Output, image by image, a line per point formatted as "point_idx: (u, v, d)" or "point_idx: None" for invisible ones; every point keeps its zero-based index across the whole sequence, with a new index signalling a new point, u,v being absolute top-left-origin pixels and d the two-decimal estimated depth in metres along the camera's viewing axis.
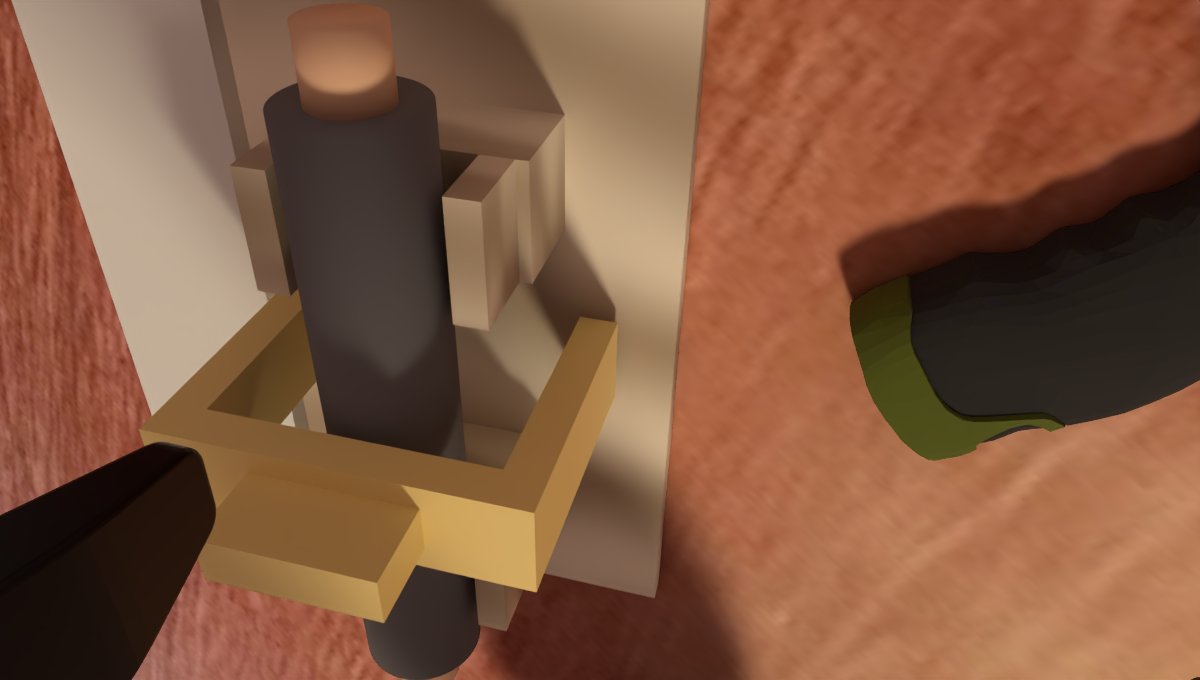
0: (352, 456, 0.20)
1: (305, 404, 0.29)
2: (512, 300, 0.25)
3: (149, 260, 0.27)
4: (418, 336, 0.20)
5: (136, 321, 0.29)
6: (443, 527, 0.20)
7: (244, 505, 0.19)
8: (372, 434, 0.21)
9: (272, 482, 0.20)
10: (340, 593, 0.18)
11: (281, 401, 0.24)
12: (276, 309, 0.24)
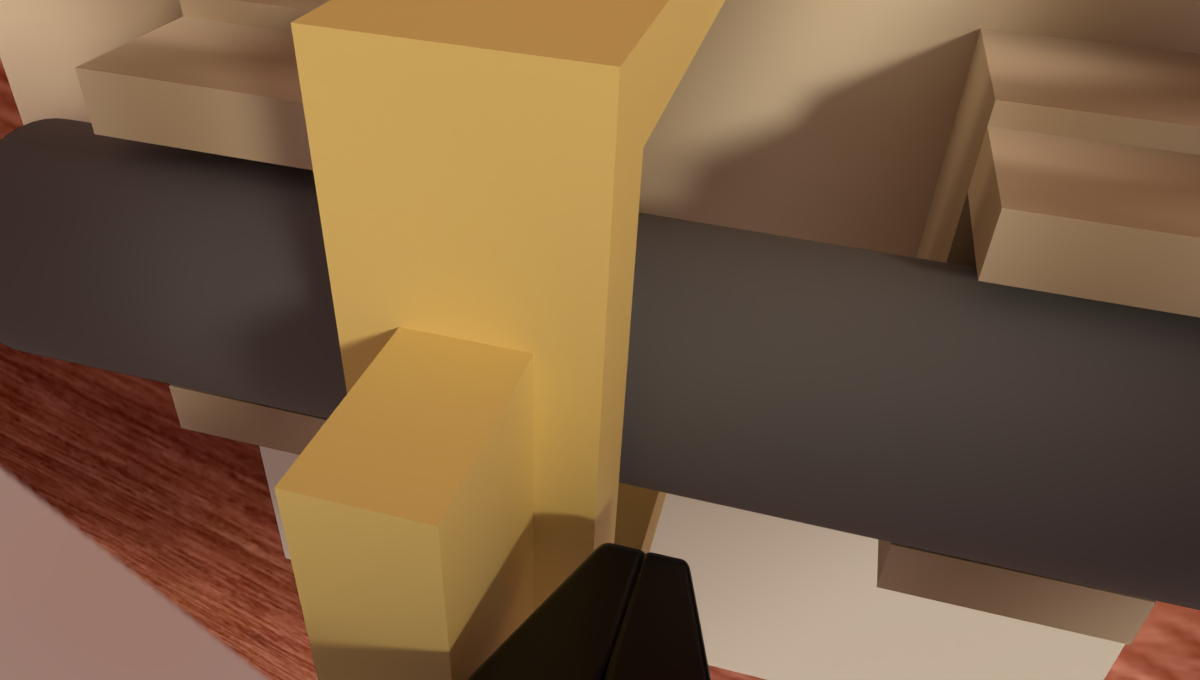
0: None
1: None
2: None
3: None
4: (319, 239, 0.10)
5: (731, 652, 0.21)
6: (439, 286, 0.08)
7: None
8: None
9: None
10: (367, 588, 0.07)
11: None
12: None
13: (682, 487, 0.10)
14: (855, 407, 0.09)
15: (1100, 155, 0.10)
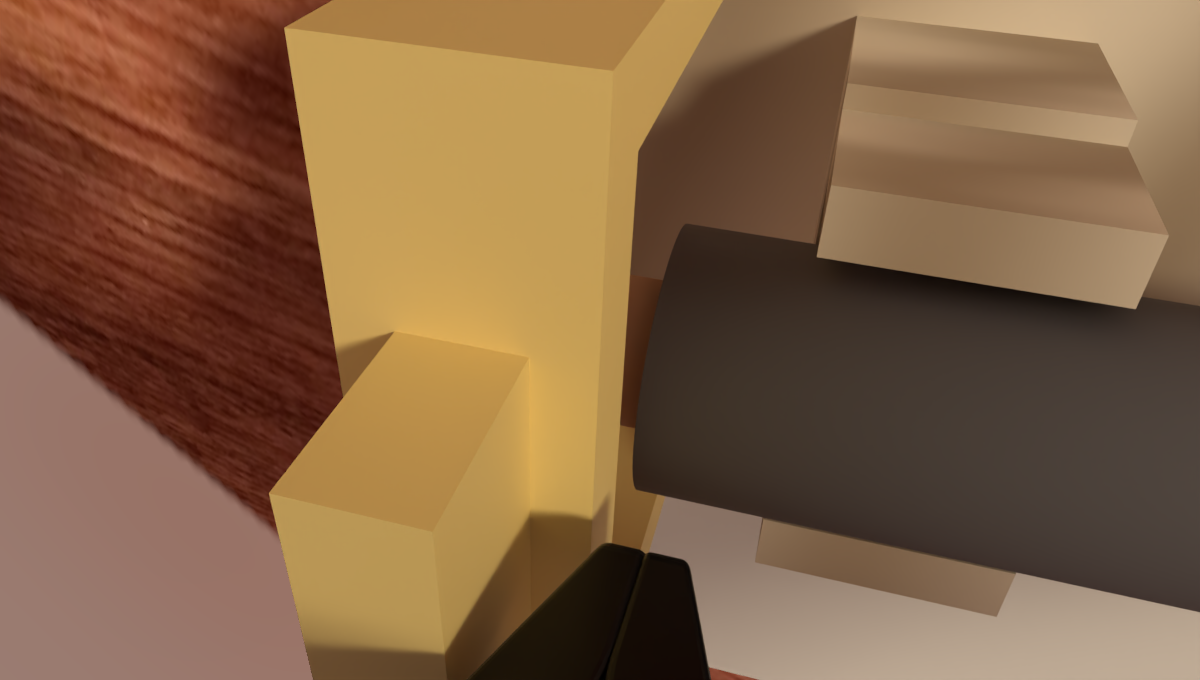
0: None
1: None
2: None
3: None
4: (1133, 389, 0.09)
5: None
6: (434, 291, 0.08)
7: None
8: None
9: None
10: (362, 593, 0.07)
11: None
12: None
13: None
14: None
15: None
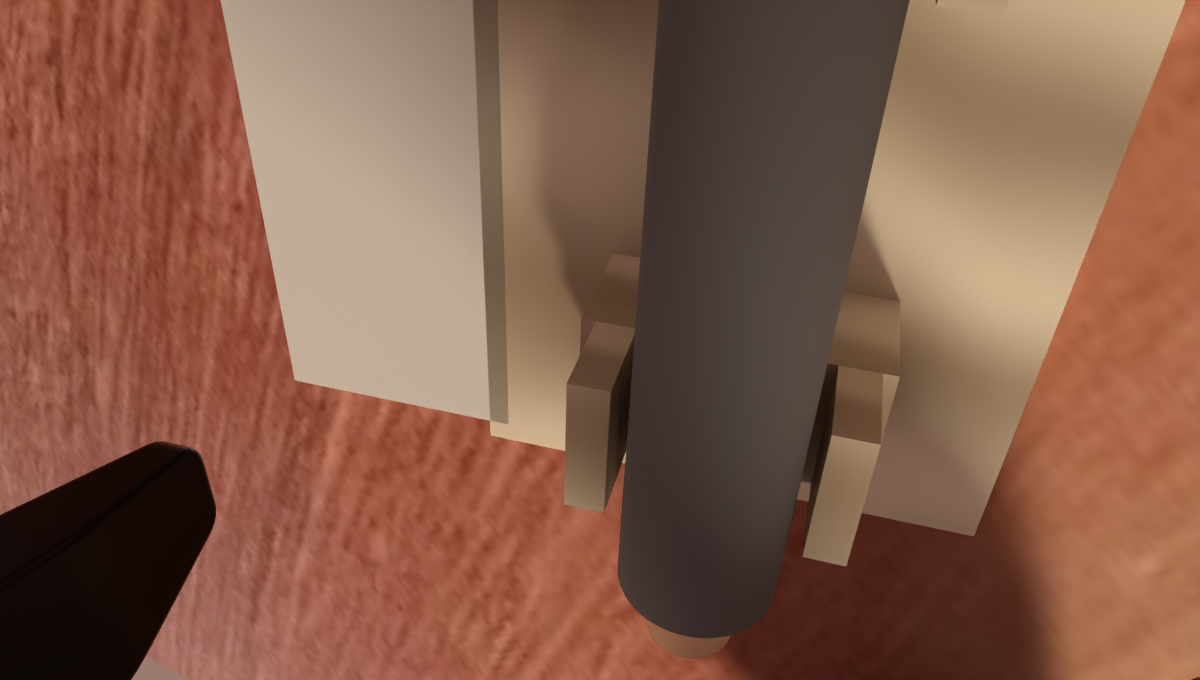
0: None
1: (506, 257, 0.21)
2: None
3: (304, 33, 0.19)
4: (885, 19, 0.11)
5: (271, 136, 0.21)
6: None
7: None
8: (766, 209, 0.12)
9: None
10: None
11: None
12: None
13: (681, 318, 0.14)
14: (769, 416, 0.14)
15: None
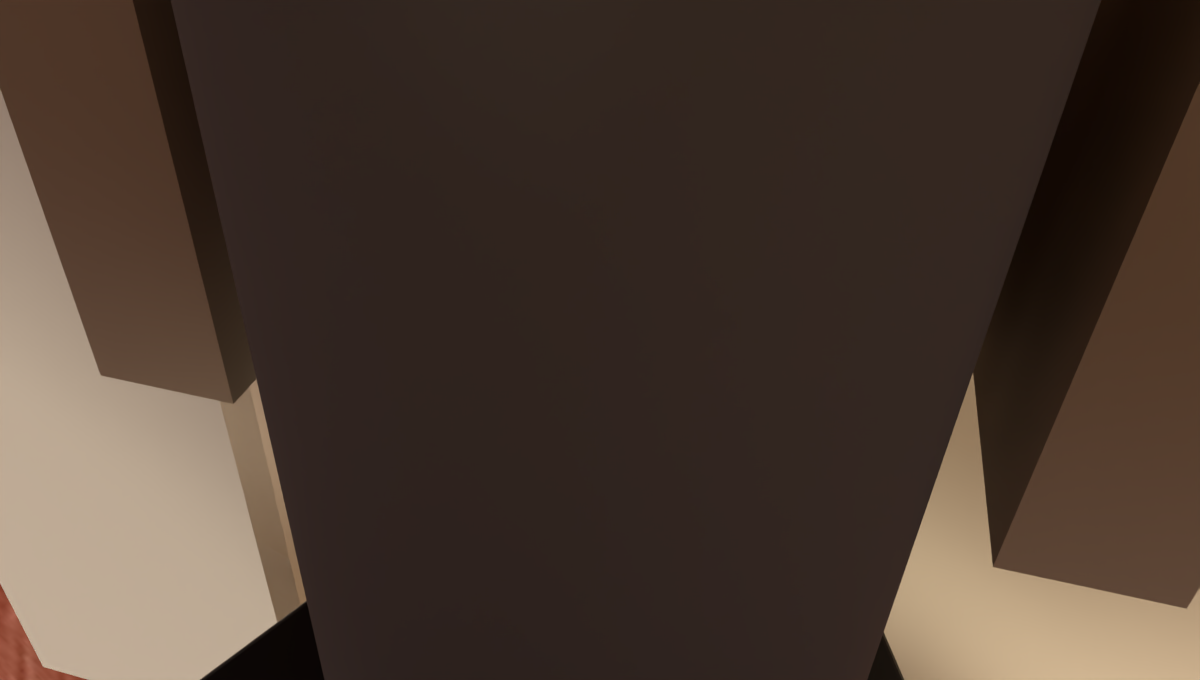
0: None
1: (293, 563, 0.14)
2: None
3: None
4: (852, 636, 0.04)
5: None
6: None
7: None
8: None
9: None
10: None
11: None
12: None
13: None
14: None
15: None
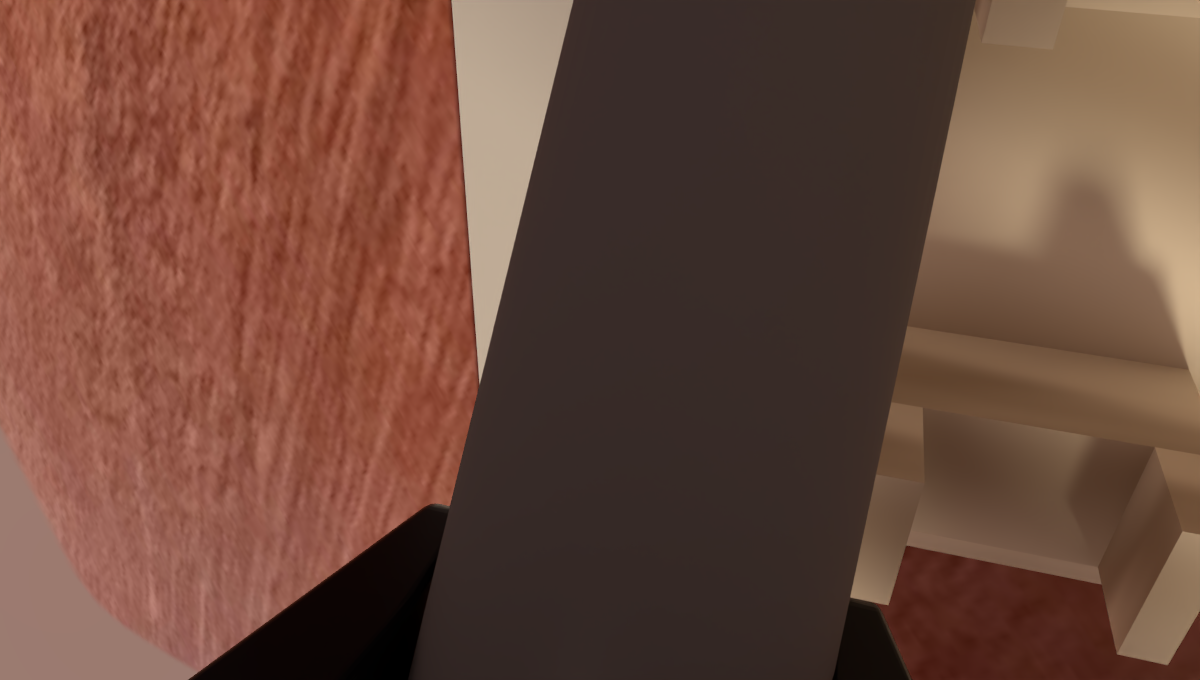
0: None
1: None
2: (1199, 126, 0.15)
3: (545, 94, 0.18)
4: (889, 274, 0.07)
5: (493, 200, 0.20)
6: None
7: None
8: (660, 587, 0.06)
9: None
10: None
11: None
12: None
13: None
14: None
15: None
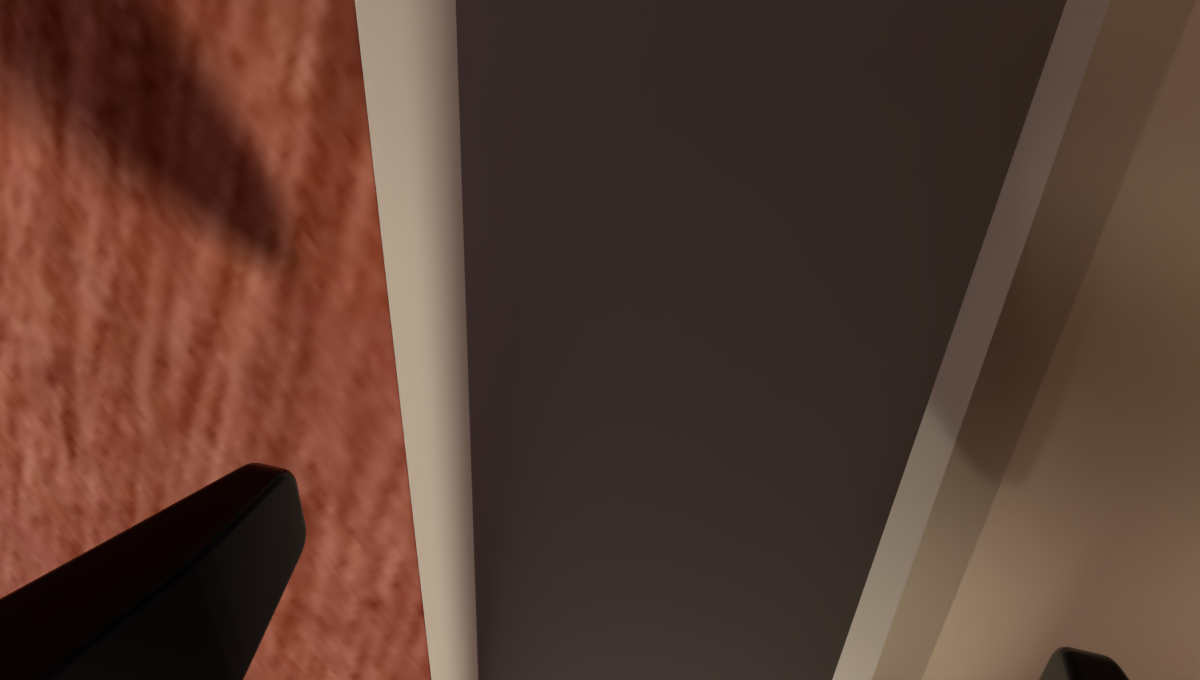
0: None
1: None
2: None
3: None
4: (862, 571, 0.07)
5: (464, 552, 0.11)
6: None
7: None
8: None
9: None
10: None
11: None
12: None
13: None
14: None
15: None
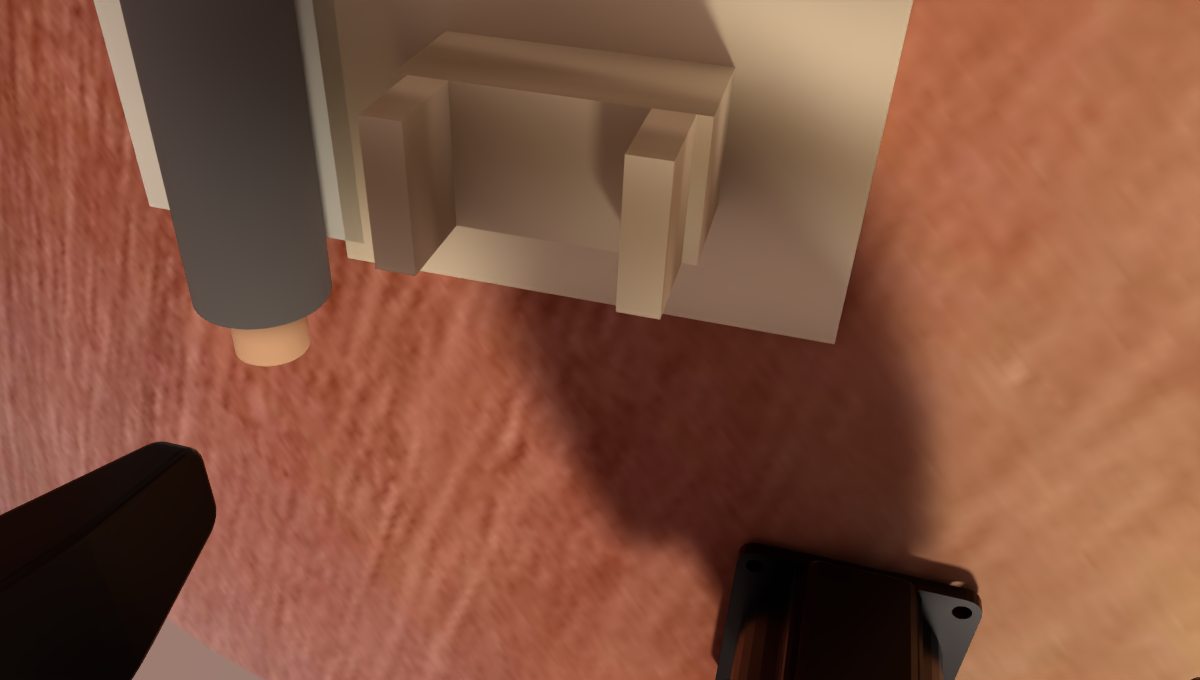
0: None
1: (341, 43, 0.20)
2: None
3: None
4: None
5: None
6: None
7: None
8: None
9: None
10: None
11: None
12: None
13: (191, 19, 0.17)
14: (283, 87, 0.19)
15: (686, 182, 0.17)
